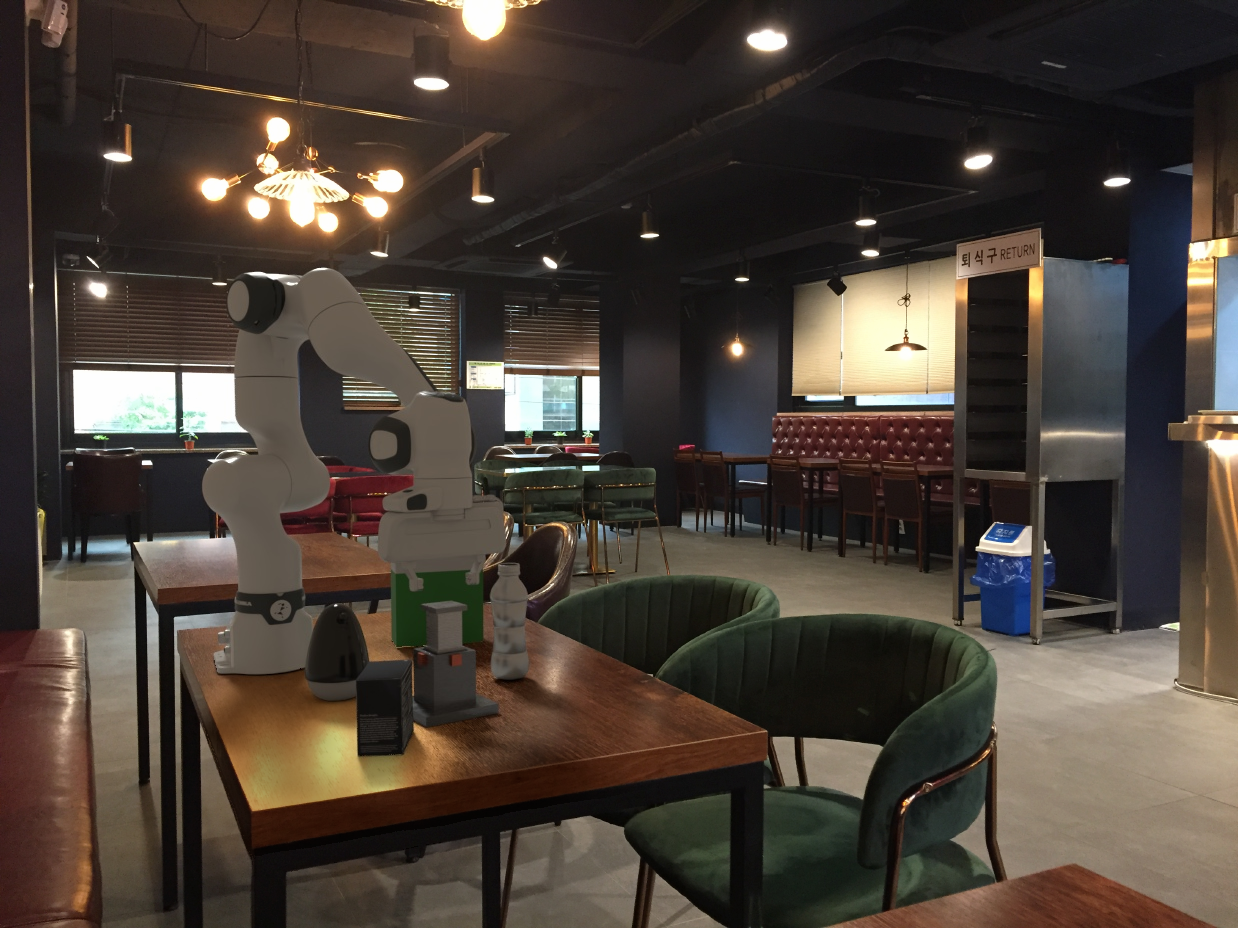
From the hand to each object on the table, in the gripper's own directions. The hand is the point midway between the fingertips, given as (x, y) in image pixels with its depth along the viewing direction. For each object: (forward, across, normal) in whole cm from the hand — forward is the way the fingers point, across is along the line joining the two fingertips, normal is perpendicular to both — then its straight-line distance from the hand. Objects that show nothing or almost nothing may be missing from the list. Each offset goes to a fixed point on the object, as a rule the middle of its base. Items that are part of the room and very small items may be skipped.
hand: (445, 587), depth 147 cm
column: (+17, 0, 0) cm, 18 cm away
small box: (+19, +14, +9) cm, 25 cm away
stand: (+19, 0, 0) cm, 19 cm away
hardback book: (+19, -22, -48) cm, 56 cm away
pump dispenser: (+19, +10, -18) cm, 28 cm away
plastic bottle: (+19, -18, -12) cm, 29 cm away
